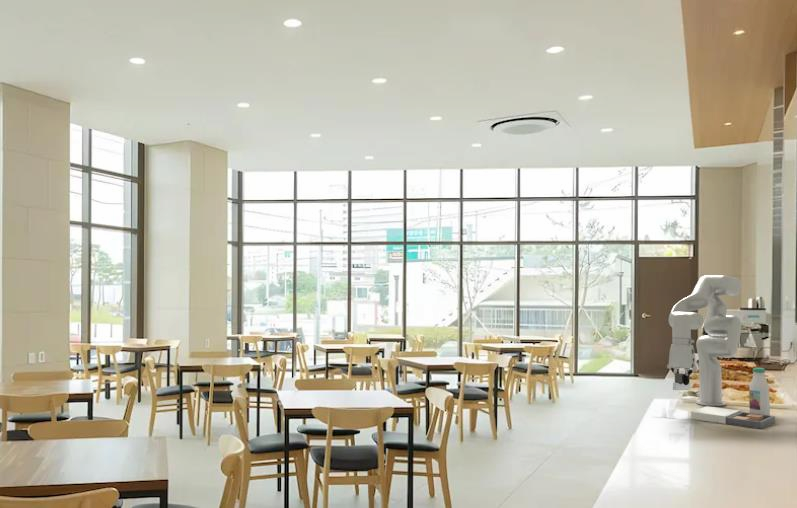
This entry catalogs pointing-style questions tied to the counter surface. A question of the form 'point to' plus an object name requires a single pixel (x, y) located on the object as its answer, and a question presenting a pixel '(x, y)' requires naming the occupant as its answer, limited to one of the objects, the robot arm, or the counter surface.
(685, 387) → the dark block with bar
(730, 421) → the tray
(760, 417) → the tile
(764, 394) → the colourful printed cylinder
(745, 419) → the tile
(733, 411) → the offwhite board
